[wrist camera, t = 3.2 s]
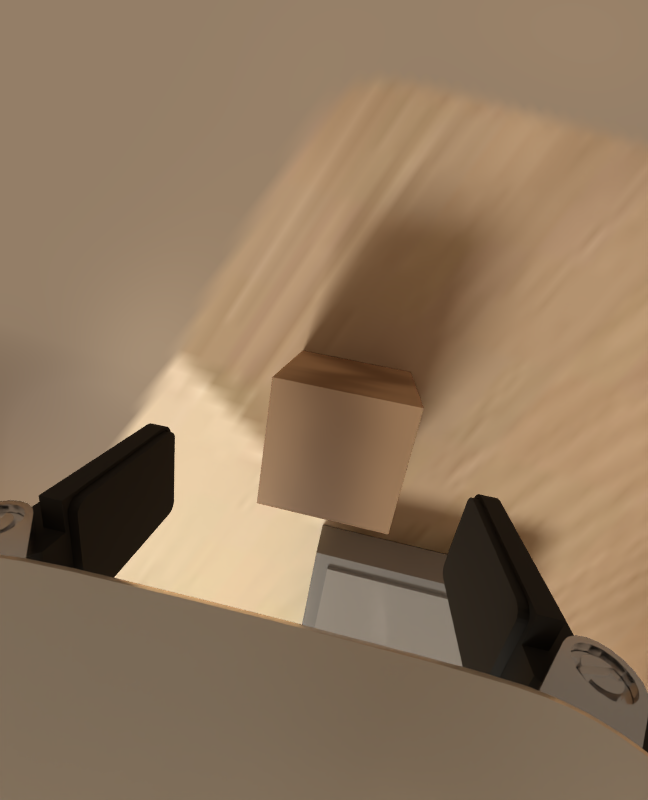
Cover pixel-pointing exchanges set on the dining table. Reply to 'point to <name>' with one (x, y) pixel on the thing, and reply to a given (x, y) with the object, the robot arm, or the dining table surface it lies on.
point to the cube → (339, 440)
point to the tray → (381, 594)
